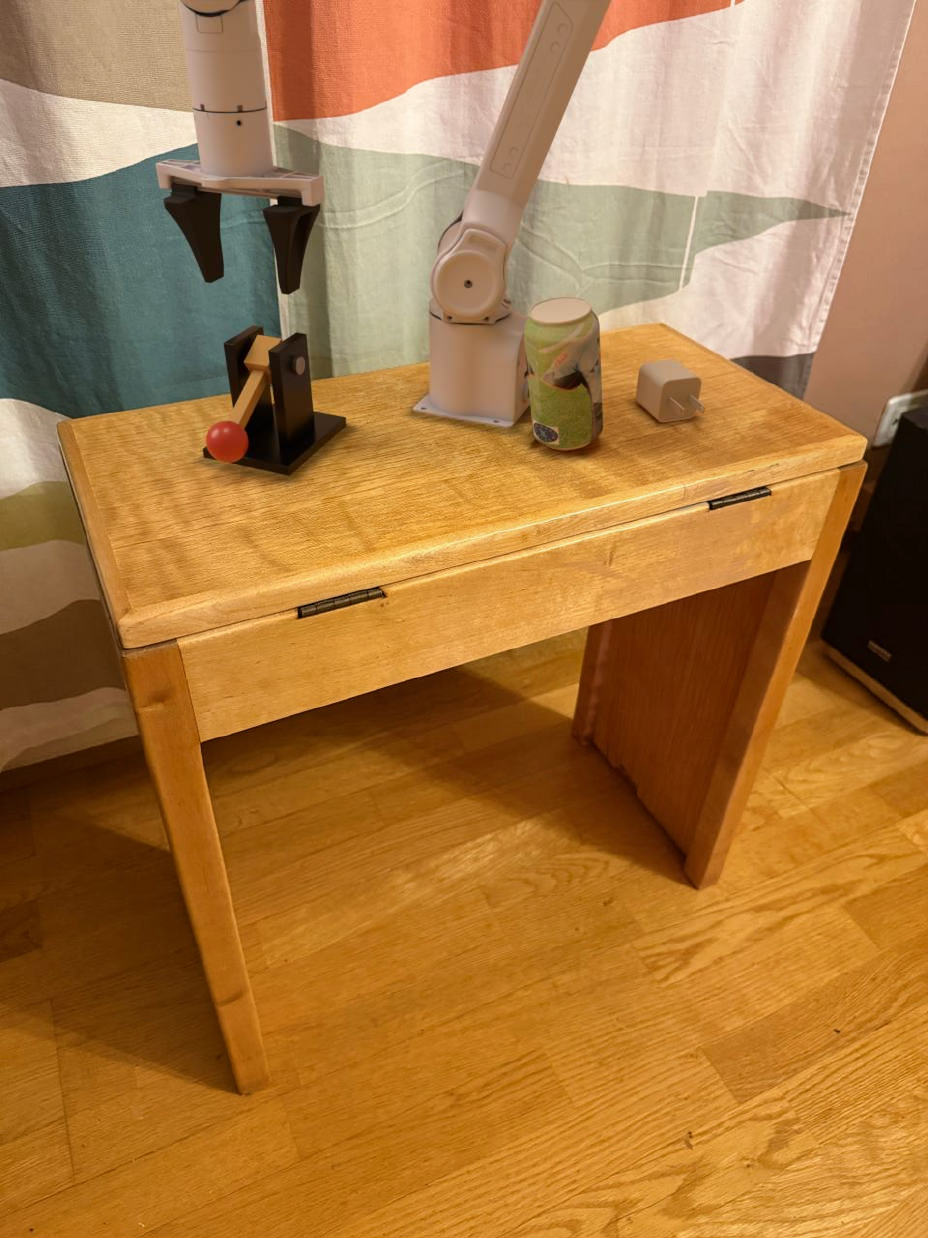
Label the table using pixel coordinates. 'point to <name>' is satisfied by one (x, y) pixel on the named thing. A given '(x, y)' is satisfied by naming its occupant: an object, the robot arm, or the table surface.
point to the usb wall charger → (668, 390)
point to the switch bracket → (279, 406)
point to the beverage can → (564, 372)
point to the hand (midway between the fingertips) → (252, 285)
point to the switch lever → (242, 405)
